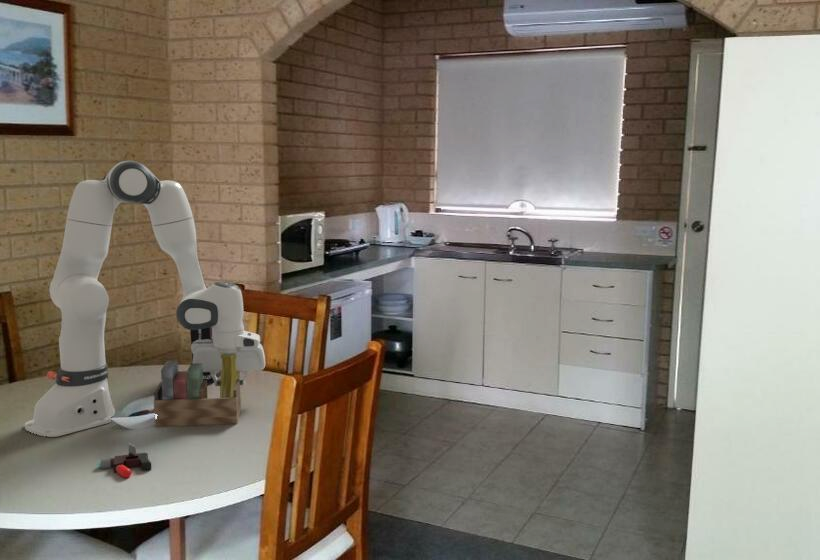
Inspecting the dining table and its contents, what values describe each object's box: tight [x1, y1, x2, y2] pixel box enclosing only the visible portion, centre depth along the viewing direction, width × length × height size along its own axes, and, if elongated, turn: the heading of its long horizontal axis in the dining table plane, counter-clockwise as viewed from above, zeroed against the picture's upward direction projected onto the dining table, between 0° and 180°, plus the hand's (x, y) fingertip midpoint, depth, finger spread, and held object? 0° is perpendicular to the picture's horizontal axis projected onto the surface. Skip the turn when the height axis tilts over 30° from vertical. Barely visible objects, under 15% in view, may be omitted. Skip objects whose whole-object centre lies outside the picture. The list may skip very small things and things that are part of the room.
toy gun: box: [96, 442, 152, 479], centre depth 171 cm, size 10×12×5 cm
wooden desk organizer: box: [153, 360, 242, 428], centre depth 203 cm, size 21×11×15 cm, turn 97°
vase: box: [219, 354, 242, 402], centre depth 217 cm, size 6×6×14 cm
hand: (230, 385), depth 218 cm, fingers closed on vase, 5 cm apart
